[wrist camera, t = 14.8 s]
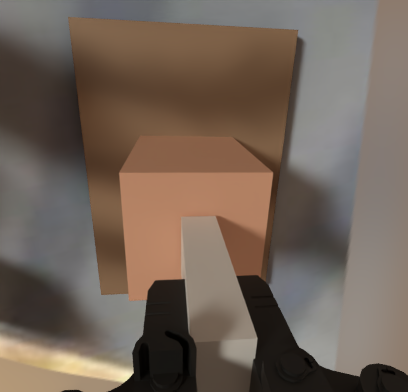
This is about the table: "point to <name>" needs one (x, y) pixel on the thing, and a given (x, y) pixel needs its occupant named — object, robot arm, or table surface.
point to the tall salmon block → (190, 204)
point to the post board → (173, 105)
